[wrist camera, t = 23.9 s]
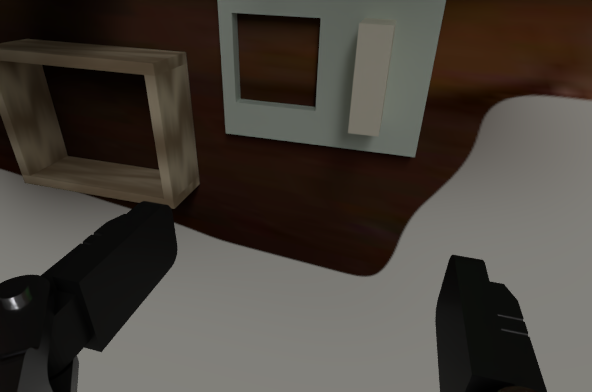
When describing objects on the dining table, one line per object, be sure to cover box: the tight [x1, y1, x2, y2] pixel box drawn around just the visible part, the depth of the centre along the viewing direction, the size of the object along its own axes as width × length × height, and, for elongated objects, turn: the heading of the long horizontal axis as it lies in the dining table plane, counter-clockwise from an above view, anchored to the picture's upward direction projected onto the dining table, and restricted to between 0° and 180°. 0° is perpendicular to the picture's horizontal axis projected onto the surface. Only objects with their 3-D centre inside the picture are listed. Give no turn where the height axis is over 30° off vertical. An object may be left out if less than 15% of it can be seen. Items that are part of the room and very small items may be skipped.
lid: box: [217, 0, 446, 157], centre depth 32 cm, size 14×18×5 cm
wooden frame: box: [0, 39, 200, 209], centre depth 40 cm, size 14×18×6 cm
